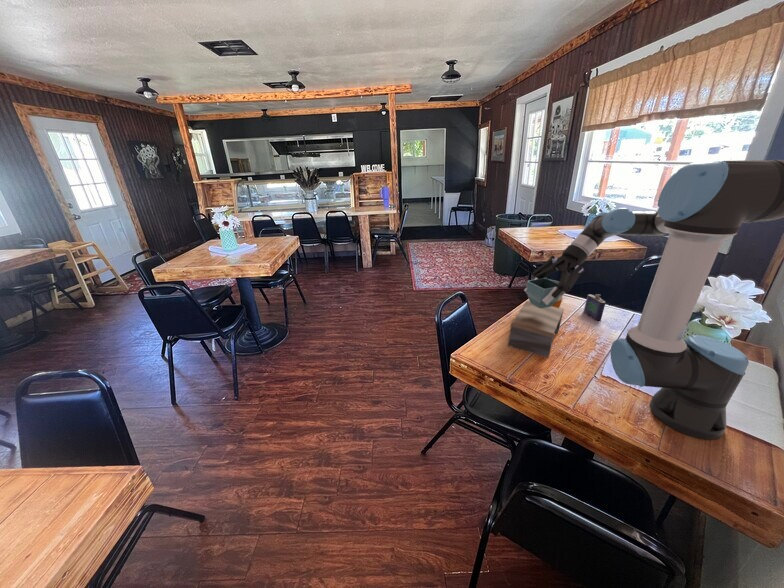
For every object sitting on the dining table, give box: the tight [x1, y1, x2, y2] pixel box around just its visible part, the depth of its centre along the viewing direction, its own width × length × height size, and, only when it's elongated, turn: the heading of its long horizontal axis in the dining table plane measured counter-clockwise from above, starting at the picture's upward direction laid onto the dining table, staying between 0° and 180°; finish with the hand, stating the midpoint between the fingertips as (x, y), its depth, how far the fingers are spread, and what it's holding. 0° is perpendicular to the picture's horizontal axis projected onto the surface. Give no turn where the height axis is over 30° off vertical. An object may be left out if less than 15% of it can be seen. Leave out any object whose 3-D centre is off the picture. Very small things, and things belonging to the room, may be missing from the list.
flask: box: [582, 293, 607, 322], centre depth 136 cm, size 9×3×11 cm, turn 9°
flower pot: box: [526, 277, 561, 308], centre depth 116 cm, size 9×9×9 cm
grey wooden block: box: [507, 300, 564, 359], centre depth 121 cm, size 22×14×10 cm, turn 145°
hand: (535, 297), depth 115 cm, fingers closed on flower pot, 9 cm apart
